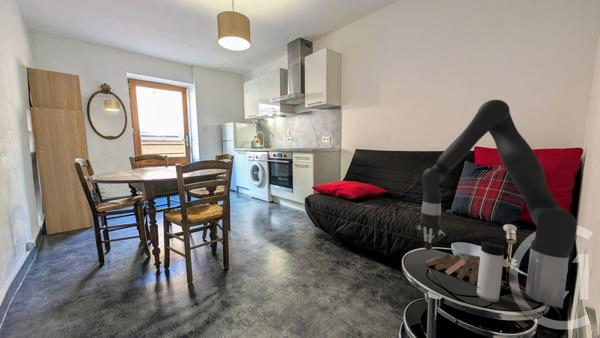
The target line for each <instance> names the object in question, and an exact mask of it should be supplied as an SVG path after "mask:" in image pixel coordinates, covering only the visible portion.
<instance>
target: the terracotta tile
mask: <svg viewBox="0 0 600 338" xmlns="http://www.w3.org/2000/svg"><path fill="white" fill-rule="evenodd" d="M468 259H469V258H468V257H467V256H466V255H465V256H464V257H463V258H461V259H460V260H459V261H458V262H457V263H454V264H452V265H450V266H448V268H446V270H444V272H445V273H446V274H447V275H448V276H450V275H451V274H452V273H454V272H455V271H456V270H458V269H459V268H461V267H463V264H465V263H466V262H467V260H468Z"/></svg>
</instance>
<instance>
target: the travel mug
mask: <svg viewBox="0 0 600 338" xmlns="http://www.w3.org/2000/svg"><path fill="white" fill-rule="evenodd" d="M480 246H481V253H480V264H479V274H478V281H477V283H476V287H477V288H476V295H477V296H478V297H480V298H481V299H483V300H484V301H486V302H491V303H497V302H500V294H501V285H502V275H503V265H504V256H505V255H504V254H505V246H504V245H500V244H497V243H496V244H495V243H493V242H490V241H481V245H480Z"/></svg>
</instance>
